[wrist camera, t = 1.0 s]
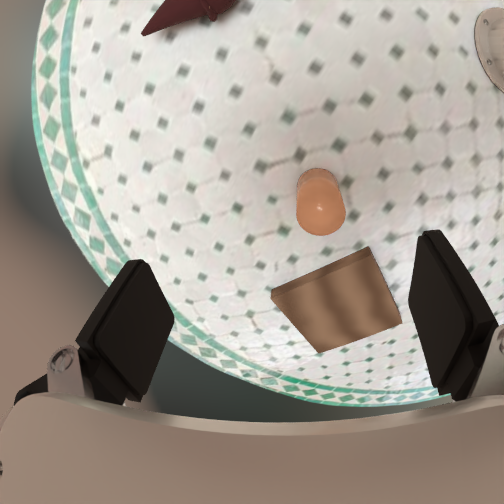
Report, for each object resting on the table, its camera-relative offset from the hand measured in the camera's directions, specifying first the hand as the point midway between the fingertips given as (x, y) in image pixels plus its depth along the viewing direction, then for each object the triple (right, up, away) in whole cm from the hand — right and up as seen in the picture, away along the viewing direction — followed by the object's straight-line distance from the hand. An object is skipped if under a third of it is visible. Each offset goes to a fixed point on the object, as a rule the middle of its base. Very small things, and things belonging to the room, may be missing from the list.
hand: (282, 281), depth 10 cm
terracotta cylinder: (+7, +9, +25) cm, 27 cm away
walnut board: (+13, -7, +35) cm, 38 cm away
